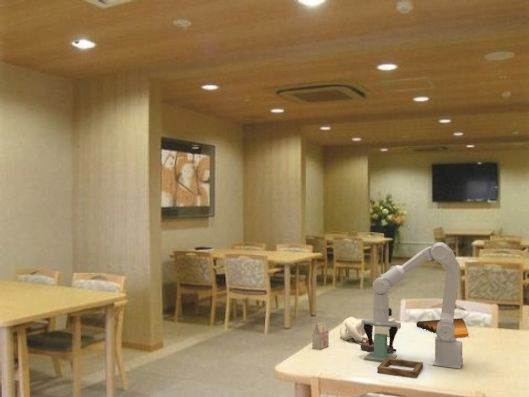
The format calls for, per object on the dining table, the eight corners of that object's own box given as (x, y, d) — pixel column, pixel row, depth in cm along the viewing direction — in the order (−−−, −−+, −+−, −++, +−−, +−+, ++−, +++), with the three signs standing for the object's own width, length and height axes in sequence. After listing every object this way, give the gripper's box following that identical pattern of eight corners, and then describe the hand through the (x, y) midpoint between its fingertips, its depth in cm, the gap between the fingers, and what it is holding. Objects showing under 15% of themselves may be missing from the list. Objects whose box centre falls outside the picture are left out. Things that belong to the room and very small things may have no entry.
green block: (387, 355, 210) (387, 334, 210) (384, 358, 206) (384, 336, 206) (376, 354, 212) (376, 333, 212) (374, 356, 208) (374, 335, 208)
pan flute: (459, 324, 272) (416, 327, 264) (459, 317, 273) (416, 320, 264) (496, 335, 249) (449, 339, 241) (496, 328, 249) (449, 332, 241)
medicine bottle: (395, 334, 249) (395, 307, 249) (389, 337, 243) (389, 309, 243) (379, 332, 253) (380, 305, 253) (374, 335, 247) (374, 308, 247)
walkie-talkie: (399, 352, 219) (357, 343, 232) (399, 341, 219) (357, 333, 232) (387, 357, 212) (344, 347, 226) (387, 345, 212) (344, 336, 226)
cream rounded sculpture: (360, 335, 246) (360, 315, 246) (374, 342, 234) (374, 320, 234) (337, 337, 242) (337, 316, 242) (349, 344, 231) (350, 322, 231)
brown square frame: (422, 368, 197) (422, 362, 197) (415, 378, 185) (415, 372, 185) (386, 363, 203) (386, 357, 203) (377, 372, 191) (377, 367, 191)
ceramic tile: (397, 356, 211) (397, 354, 211) (390, 363, 202) (390, 361, 202) (371, 353, 216) (371, 351, 216) (364, 359, 207) (364, 357, 207)
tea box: (312, 348, 223) (312, 323, 223) (320, 345, 228) (320, 321, 228) (320, 350, 220) (320, 325, 221) (328, 346, 226) (328, 322, 226)
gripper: (359, 309, 209) (359, 345, 209) (397, 313, 203) (397, 350, 202) (364, 306, 215) (364, 341, 215) (402, 309, 209) (401, 346, 209)
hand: (380, 345), depth 209 cm, fingers open, 7 cm apart
